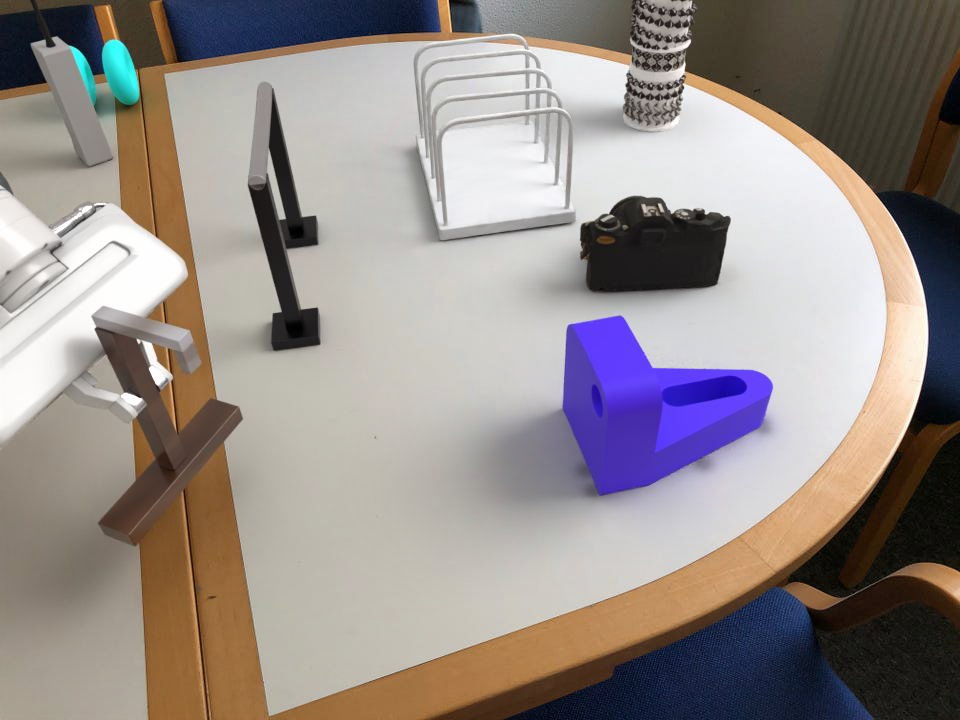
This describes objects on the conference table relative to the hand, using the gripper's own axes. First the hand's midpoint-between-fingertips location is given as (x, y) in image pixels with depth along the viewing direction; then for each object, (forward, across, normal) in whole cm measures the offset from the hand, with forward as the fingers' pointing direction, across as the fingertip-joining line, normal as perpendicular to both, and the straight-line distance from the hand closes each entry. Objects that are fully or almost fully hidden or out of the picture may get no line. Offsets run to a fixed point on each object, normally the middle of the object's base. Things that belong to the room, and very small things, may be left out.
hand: (151, 401), depth 58 cm
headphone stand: (+7, 0, -5) cm, 9 cm away
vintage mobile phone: (-28, -48, -50) cm, 75 cm away
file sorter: (+12, -60, -9) cm, 62 cm away
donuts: (-36, -63, -58) cm, 93 cm away
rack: (+3, -32, -18) cm, 37 cm away
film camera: (+29, -48, +8) cm, 57 cm away
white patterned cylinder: (+24, -86, +2) cm, 89 cm away
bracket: (+35, -24, +14) cm, 45 cm away
